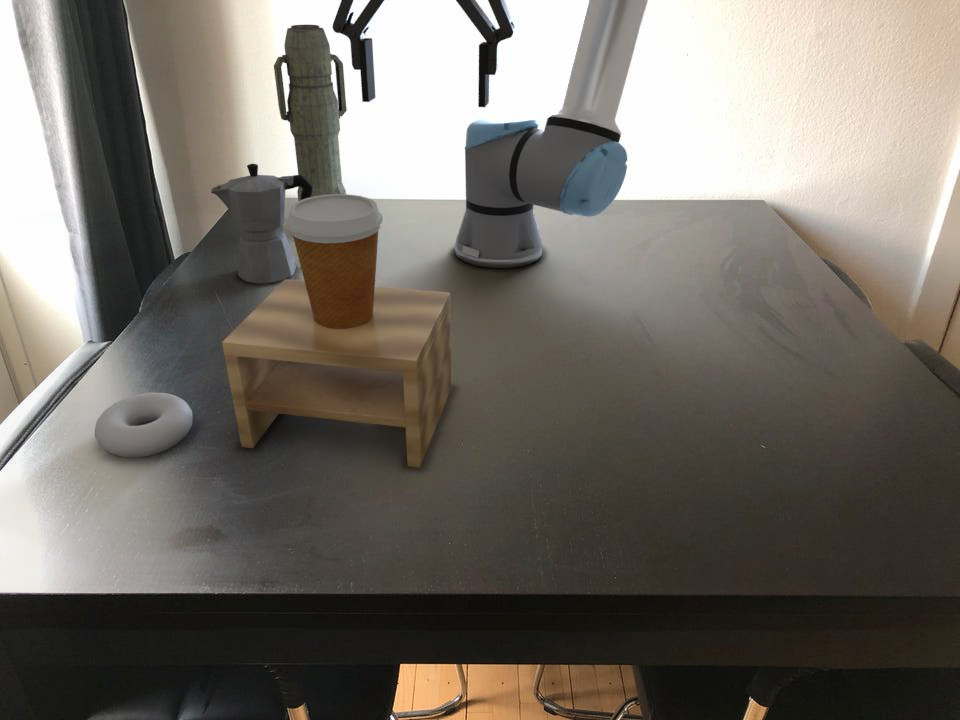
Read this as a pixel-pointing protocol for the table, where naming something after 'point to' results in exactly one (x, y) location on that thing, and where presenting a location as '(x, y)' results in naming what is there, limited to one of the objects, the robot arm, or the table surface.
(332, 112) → the thermos
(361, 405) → the shelf
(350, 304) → the disposable coffee cup
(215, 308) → the table surface
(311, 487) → the table surface
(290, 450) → the table surface
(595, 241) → the table surface
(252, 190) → the coffeepot
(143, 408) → the donut
